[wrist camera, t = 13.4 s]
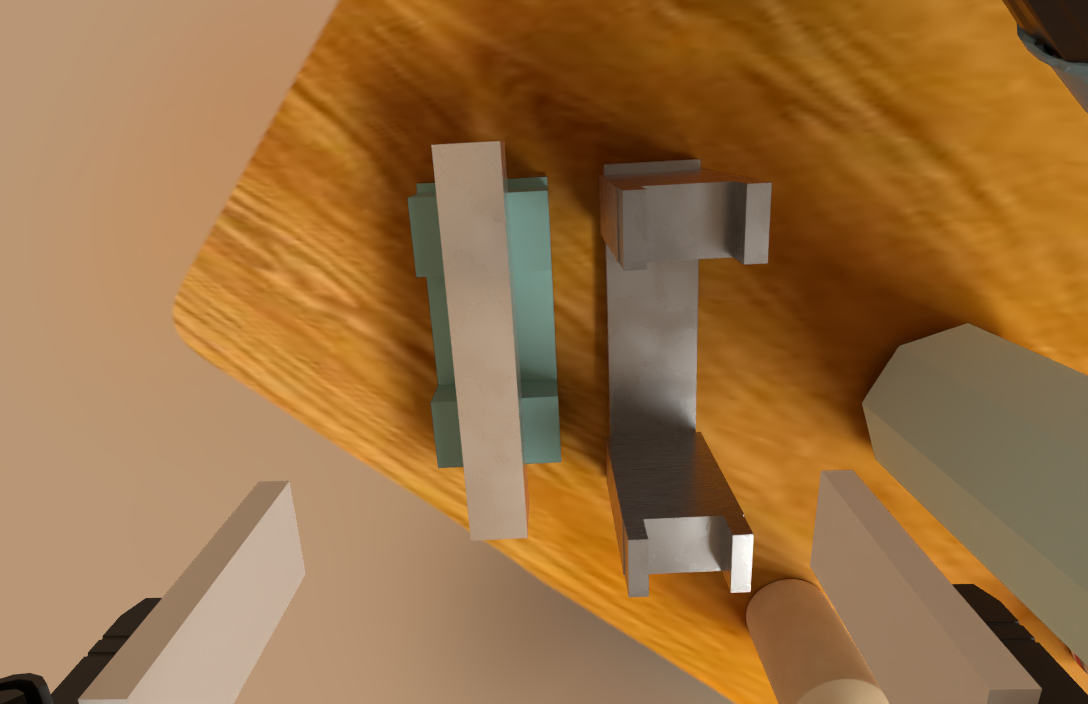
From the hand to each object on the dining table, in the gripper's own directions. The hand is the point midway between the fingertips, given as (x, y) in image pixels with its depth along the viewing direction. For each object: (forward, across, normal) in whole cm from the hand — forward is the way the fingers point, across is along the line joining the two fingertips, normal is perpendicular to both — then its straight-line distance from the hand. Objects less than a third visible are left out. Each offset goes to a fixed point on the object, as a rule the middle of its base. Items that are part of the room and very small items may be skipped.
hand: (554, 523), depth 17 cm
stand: (+22, +6, -2) cm, 23 cm away
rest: (+22, -4, -1) cm, 23 cm away
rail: (+19, -4, -1) cm, 20 cm away
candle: (+23, +15, -22) cm, 35 cm away
